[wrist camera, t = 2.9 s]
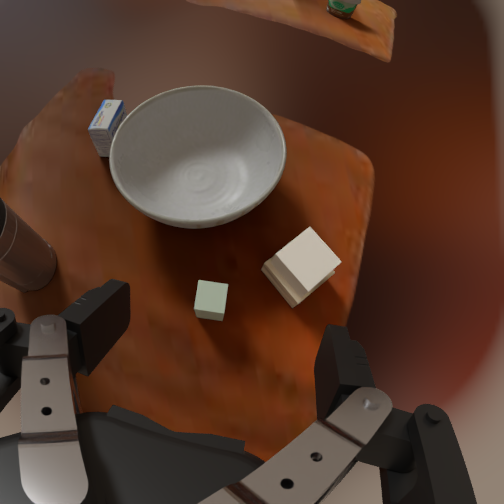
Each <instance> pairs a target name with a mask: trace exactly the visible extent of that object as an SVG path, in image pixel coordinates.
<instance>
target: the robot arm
mask: <svg viewBox="0 0 504 504" xmlns="http://www.w3.org/2000/svg"><path fill="white" fill-rule="evenodd" d="M56 261H57V260H56V254H55V251H54V249H53V248H52V246H51V245H50V244H48V242H47V241H46V240H44V239H43V238H42V237H41V236H40V235H39V234H37V233H36V232H35V231H34V230H33V229H32V228H31V227H30V226H29V225H28V224H27V223H26V222H24V221H23V220H22V219H21V218H20V217H19V216H18V215H17V214H16V213H15V212H14V211H13V210H12V209H11V208H10V207H9V206H8V205H7V204H6V203H5V202H4V201H3V200H2V199H1V198H0V281H2V282H4V283H6V284H8V285H10V286H12V287H14V288H16V289H18V290H20V291H22V292H24V293H25V292H26V291H28V290H39V289H41V288H43V287H44V286H46V285H47V284H48V283H49V282H50V280H51V279H52V277H53V275H54V272H55V269H56ZM129 322H130V286H129V284H128V283H126V282H122V281H119V280H115V279H110V280H109V281H108V282H106V283H105V284H104V285H103V286H102V287H97V288H95V289H92V290H89V291H87V292H86V293H85V294H84V295H82V296H81V298H79V299H77V300H76V301H75V303H72V304H71V305H70V306H69V307H68V308H66V309H65V310H64V311H63V312H61V313H60V314H59V315H58V316H56V315H44V316H40V317H38V318H36V319H35V320H34V321H33V322H32V323H31V325H30V324H24V323H17V322H16V319H15V314H14V312H13V311H12V310H10V309H7V308H0V412H1V411H2V410H3V409H4V407H5V406H6V405H7V403H8V402H9V401H10V400H11V399H12V398H13V396H14V395H15V394H16V393H17V392H18V390H19V389H20V388H21V432H20V433H16V434H13V435H9V436H5V437H2V438H0V504H321V503H322V502H323V501H324V500H325V499H326V498H327V496H328V495H329V494H330V493H331V492H332V491H333V490H334V489H335V487H336V486H337V485H338V484H339V483H340V482H341V481H342V479H343V478H344V477H345V476H346V475H347V474H348V473H349V471H350V470H351V469H352V468H353V467H354V465H355V464H356V463H357V462H358V461H360V462H363V463H367V464H370V465H374V466H377V467H379V469H380V478H381V488H382V499H383V504H477V502H476V498H475V495H474V491H473V488H472V484H471V481H470V478H469V474H468V471H467V468H466V465H465V462H464V459H463V456H462V453H461V450H460V447H459V444H458V441H457V438H456V435H455V433H454V430H453V427H452V424H451V422H450V420H449V417H448V415H447V414H446V413H445V412H444V411H443V410H442V409H441V408H439V407H437V406H435V405H430V404H423V405H420V406H418V407H417V408H416V410H415V411H414V413H409V412H405V411H402V410H399V409H396V408H393V407H392V402H391V400H390V398H389V397H388V396H387V395H386V394H385V393H383V392H382V391H380V390H378V389H376V387H375V384H374V380H373V377H372V374H371V370H370V367H369V363H368V360H367V357H366V354H365V350H364V349H363V348H362V346H361V345H360V344H359V343H358V342H357V341H353V340H350V337H349V334H348V330H347V327H343V326H337V325H331V324H328V325H327V326H326V329H325V332H324V335H323V338H322V341H321V344H320V347H319V350H318V353H317V356H316V360H315V366H314V375H315V389H316V406H317V420H316V421H315V422H314V423H313V424H312V425H311V426H310V427H308V428H307V429H306V430H305V431H304V432H303V433H301V434H300V435H299V436H298V437H297V438H296V439H294V440H293V441H292V442H291V443H289V444H288V445H287V446H286V447H285V448H283V449H282V450H281V451H280V452H278V453H277V454H276V455H275V456H273V457H272V458H271V459H269V460H268V461H267V462H264V461H263V460H261V459H260V458H258V457H257V456H255V455H253V454H251V453H249V452H246V451H244V446H245V441H242V440H237V439H232V438H227V437H222V436H218V435H213V434H199V433H182V432H174V431H171V430H169V429H167V428H165V427H163V426H161V425H159V424H158V423H156V422H154V421H152V420H150V419H149V418H147V417H145V416H143V415H141V414H138V413H135V412H132V411H129V410H126V409H123V408H121V407H118V406H115V405H112V407H111V408H110V410H109V412H108V413H105V412H87V413H82V408H81V402H80V397H79V391H78V384H77V379H76V375H75V374H76V373H77V372H78V373H81V374H83V375H86V376H89V375H90V374H91V372H92V371H93V370H94V369H95V367H96V366H97V365H98V364H99V363H100V361H101V360H102V359H103V358H104V356H105V355H106V354H107V353H108V352H109V350H110V349H111V348H112V347H113V345H114V344H115V343H116V342H117V341H118V339H119V338H120V337H121V336H122V335H123V333H124V332H125V331H126V330H127V328H128V326H129Z"/></svg>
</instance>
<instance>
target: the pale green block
mask: <svg viewBox="0 0 504 504" xmlns="http://www.w3.org/2000/svg"><path fill="white" fill-rule="evenodd" d="M227 289H228V284H223V283H216V282H210V281H203V280H198V287H197V293H196V299H195V306H194V311H195V314H196V317H198V318H204V319H211V320H218V321H223V317H224V312H225V304H226V297H227Z"/></svg>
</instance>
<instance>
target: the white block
mask: <svg viewBox="0 0 504 504" xmlns="http://www.w3.org/2000/svg"><path fill="white" fill-rule="evenodd" d="M339 263H341V261H340V260H339V258H338V257H337V256H336V255H335V254H334V253H333V252H332V250H331V249H330V248H329V247H328V246H327V245H326V244H325V243H324V241H323V240H322V239H321V238H320V237H319V236H318V235H317V234H316V233H315V232H314V230H313V229H312V228H311V227H309V228H307V229H306V230H305V231H303V232H302V233H301V234H300V235H298V236H297V237H296V238H295V239H293V240H292V241H291V242H290V243H288V244H287V245H286V246H285V247H283V248H282V249H281V250H280V251H278V252H277V253H276V254H275V255H274V257H273V259H272V261H271V264H272V265H273V266H274V267H275V269H276V270H277V271H278V272H279V273H280V274H281V275H282V277H283V278H284V279H285V280H286V281H287V282H288V284H289V285H290V286H291V287H292V288H293V289H294V290H295V292H296V293H297V294H298V295H299V296H300V297H302V296H304V295H305V294H306V293H307V292H309V291H310V290H311V289H312V288H313V287H314V286H315V285H316V284H318V283H319V282H320V281H321V280H322V279H323V278H324V277H325V276H326V275H328V274H329V273H330V272H331V271H332V270H333V269H334V268H335V267H336V266H337V265H338V264H339Z"/></svg>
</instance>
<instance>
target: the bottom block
mask: <svg viewBox="0 0 504 504" xmlns="http://www.w3.org/2000/svg"><path fill="white" fill-rule="evenodd" d="M273 257H274V256H273ZM273 257H272V258H270V259H269V260H268V261H266V262H265V263H264V265H263V267H262V269H261V271H262V272H263V273H264V274H265V275H266V277H267V278H268V279H269V280H270V282H271V283H272V284H273V285H274V286H275V288H276V289H277V290H278V291H279V293H280V294H281V295H282V296H283V298H284V299H285V300H286V301H287V302H288V304H289V305H290V306H291V307H292V308H294V307H295V306H296V305H298V304H299V303H300V302H301V301H302V300H304V299H305V298H306V297H307V296H308V295H310V294H311V293H312V292H313V291H314V290H316V289H317V288H318V287H319V286H320V285H321V284H323V283H324V282H325V281H326V280H327V279H328V278H330V277H331V276H332V275H333V274H334V273H335V272H334V271H333V270H332V271H331V272H330V273H329V274H328V275H326V276H325V277H324V278H323V279H322V280H321V281H320V282H319V283H318V284H316V285H315V286H314V287H313V288H312V289H311V290H310V291H309V292H307V293H306V294H305V295H304V296H302V297H300V296H299V295H298V294H297V293H296V292H295V290H294V289H293V288H292V287H291V286H290V285H289V284H288V282H287V281H286V280H285V279H284V278H283V277H282V275H281V274H280V273H279V272H278V271H277V270H276V269H275V267H274V266H273V265H272V264H271V261H272V259H273Z"/></svg>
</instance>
